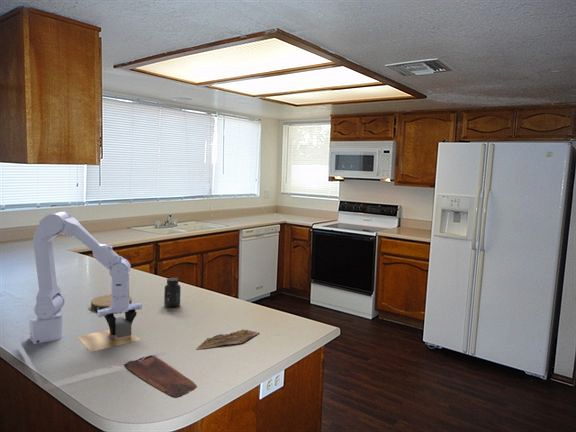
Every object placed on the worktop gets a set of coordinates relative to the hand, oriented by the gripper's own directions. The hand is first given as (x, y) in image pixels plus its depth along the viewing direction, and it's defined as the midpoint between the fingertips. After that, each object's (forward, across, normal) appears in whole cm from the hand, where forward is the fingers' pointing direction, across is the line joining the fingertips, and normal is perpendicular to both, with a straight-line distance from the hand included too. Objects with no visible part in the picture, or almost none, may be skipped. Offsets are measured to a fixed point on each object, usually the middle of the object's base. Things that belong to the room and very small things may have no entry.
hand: (120, 332), depth 145 cm
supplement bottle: (+3, +31, +23) cm, 39 cm away
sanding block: (+1, 0, 0) cm, 1 cm away
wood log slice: (+3, +10, +37) cm, 38 cm away
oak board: (+2, -4, 0) cm, 5 cm away
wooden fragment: (+3, +30, -22) cm, 37 cm away
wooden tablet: (+3, 0, -32) cm, 32 cm away
